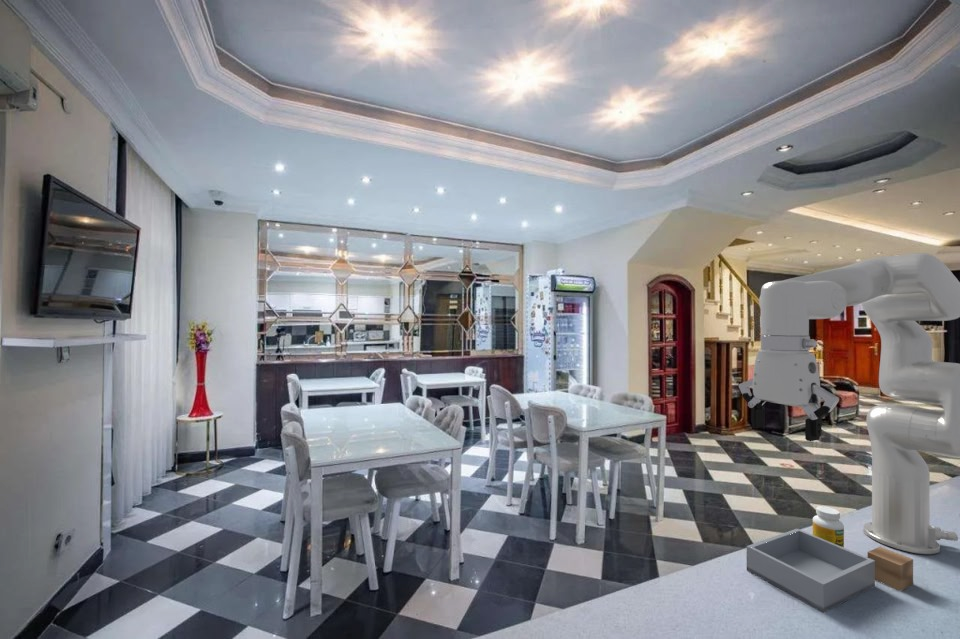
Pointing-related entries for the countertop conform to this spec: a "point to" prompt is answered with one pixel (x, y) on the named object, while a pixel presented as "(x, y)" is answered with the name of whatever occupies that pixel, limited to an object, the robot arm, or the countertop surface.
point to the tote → (811, 568)
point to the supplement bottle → (828, 525)
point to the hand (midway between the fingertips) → (784, 433)
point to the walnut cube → (892, 568)
